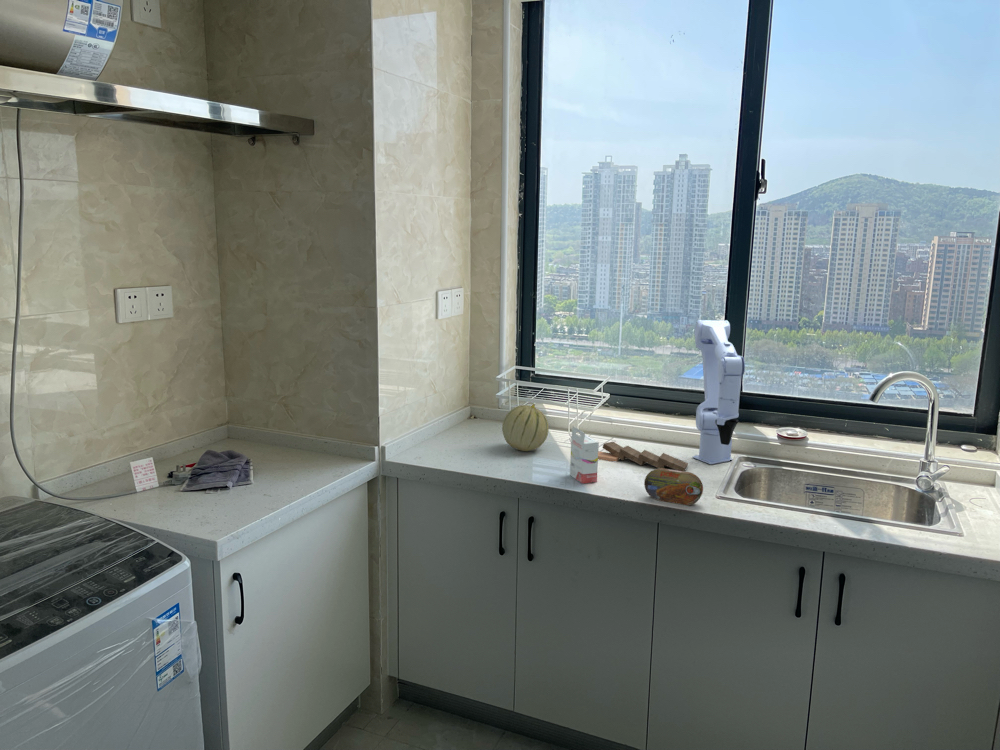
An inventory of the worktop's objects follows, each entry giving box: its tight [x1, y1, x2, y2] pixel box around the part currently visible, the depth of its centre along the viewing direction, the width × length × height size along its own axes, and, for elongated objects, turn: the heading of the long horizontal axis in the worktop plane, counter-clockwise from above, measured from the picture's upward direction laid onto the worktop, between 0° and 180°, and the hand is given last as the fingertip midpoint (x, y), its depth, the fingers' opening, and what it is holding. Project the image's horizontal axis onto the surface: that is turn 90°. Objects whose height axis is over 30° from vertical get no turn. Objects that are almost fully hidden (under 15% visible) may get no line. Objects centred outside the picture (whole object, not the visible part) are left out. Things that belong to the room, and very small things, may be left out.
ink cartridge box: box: [569, 425, 600, 484], centre depth 208 cm, size 9×5×15 cm, turn 20°
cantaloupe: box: [501, 403, 550, 452], centre depth 234 cm, size 15×15×15 cm
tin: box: [644, 468, 704, 506], centre depth 192 cm, size 15×3×8 cm, turn 62°
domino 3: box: [619, 445, 648, 466], centre depth 225 cm, size 2×5×8 cm
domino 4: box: [638, 449, 667, 469], centre depth 221 cm, size 2×5×8 cm
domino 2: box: [602, 441, 630, 461], centre depth 229 cm, size 2×5×8 cm
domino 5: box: [657, 452, 689, 472], centre depth 219 cm, size 2×5×8 cm
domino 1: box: [598, 450, 621, 462], centre depth 229 cm, size 2×5×8 cm
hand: (725, 443), depth 212 cm, fingers closed
